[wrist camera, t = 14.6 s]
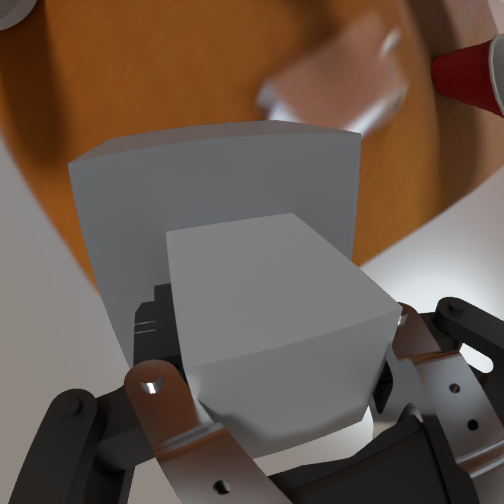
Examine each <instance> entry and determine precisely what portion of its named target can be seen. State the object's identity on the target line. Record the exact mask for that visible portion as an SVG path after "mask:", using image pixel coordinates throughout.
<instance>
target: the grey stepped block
mask: <svg viewBox="0 0 504 504" xmlns="http://www.w3.org/2000/svg"><path fill="white" fill-rule="evenodd" d="M360 153H361V134H360V133H355V132H350V131H345V130H340V129H334V128H328V127H322V126H316V125H309V124H302V123H295V122H287V121H279V120H270V121H248V122H233V123H220V124H209V125H199V126H190V127H182V128H174V129H167V130H160V131H153V132H147V133H141V134H135V135H129V136H124V137H119V138H114V139H109V140H107V141H106V142H104V143H102V144H100V145H99V146H97V147H95V148H93V149H92V150H90V151H88V152H86V153H85V154H83V155H81V156H80V157H78V158H76V159H75V160H73V161H72V162H70V163H68V169H69V174H70V180H71V185H72V190H73V195H74V200H75V204H76V209H77V213H78V218H79V222H80V226H81V230H82V234H83V237H84V241H85V245H86V249H87V252H88V256H89V259H90V262H91V266H92V269H93V272H94V275H95V279H96V282H97V285H98V288H99V291H100V294H101V297H102V300H103V302H104V305H105V308H106V311H107V314H108V316H109V319H110V322H111V324H112V327H113V329H114V332H115V334H116V337H117V339H118V342H119V344H120V347H121V349H122V351H123V354H124V356H125V358H126V361H127V363H128V365H129V367H130V369H131V368H133V354H134V334H135V333H134V325H135V312H136V311H137V309H138V308H139V306H140V304H141V303H143V302H149V301H154V286H155V285H161V284H167V283H171V287H172V295H173V303H174V310H175V318H176V324H177V331H178V338H179V344H180V350H181V356H182V362H183V367H184V371H185V374H186V378H187V381H188V384H189V387H190V391H191V394H192V397H193V399H197V400H198V401H199V403H200V404H201V405H202V407H203V408H204V410H205V411H206V412H207V414H208V415H209V416H210V418H211V419H212V420H213V421H214V422H215V423H217V422H219V423H221V424H222V425H223V426H224V427H225V428H226V429H227V430H228V431H229V432H230V434H231V435H232V436H233V437H234V439H235V440H236V441H237V442H238V443H239V445H240V446H241V447H242V448H243V449H244V451H245V452H246V453H247V454H248V455H249V457H250V458H251V459H254V458H258V457H262V456H265V455H269V454H272V453H276V452H279V451H282V450H286V449H289V448H292V447H295V446H298V445H301V444H304V443H306V442H310V441H312V440H315V439H318V438H320V437H323V436H326V435H328V434H331V433H333V432H336V431H339V430H341V429H343V428H346V427H348V426H351V425H353V424H355V423H357V422H360V421H362V419H363V416H364V414H365V412H366V410H367V407H368V405H369V404H368V400H369V397H370V395H371V392H373V391H375V388H376V386H377V383H378V381H379V378H380V375H381V373H382V370H383V367H384V365H385V362H386V357H385V353H386V350H387V346H388V343H389V342H390V341H392V340H393V339H394V336H395V332H396V329H397V326H398V323H399V319H400V316H401V313H402V309H403V307H402V306H401V305H399V304H398V303H397V302H396V301H395V300H394V299H393V298H392V297H390V295H388V294H387V293H386V292H385V291H384V290H383V289H382V288H381V287H380V286H378V285H377V284H376V283H375V282H374V281H373V280H372V279H371V278H369V277H368V276H367V275H366V274H365V273H364V272H363V271H362V270H360V269H359V268H358V267H357V266H356V265H355V264H353V263H352V262H351V260H352V252H353V244H354V235H355V225H356V214H357V203H358V189H359V174H360Z"/></svg>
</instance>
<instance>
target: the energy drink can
mask: <svg viewBox="0 0 504 504" xmlns="http://www.w3.org/2000/svg"><path fill="white" fill-rule="evenodd" d="M36 2H37V0H0V30H4V29H7V28H10V27H12V26H14V25H15V24H17V23H19V22H20V21H22V20H23V19H24V18H25V17H26V16H27V15H28V14H29V13H30V12H31V10H32V9H33V8H34V6H35V4H36Z"/></svg>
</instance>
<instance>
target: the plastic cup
mask: <svg viewBox="0 0 504 504" xmlns="http://www.w3.org/2000/svg"><path fill="white" fill-rule="evenodd" d="M431 76H432V80H433V83H434V85H435V87H436V88H437V90H438V91H439V92H440V93H441V94H442V95H444V96H446V97H449V98H452V99H456V100H459V101H461V102H463V103H467V104H470V105H473V106H476V107H479V108H481V109H484V110H487V111H490V112H493V113H494V114H496V115H499V116H501V117H502V118H504V34H498V35H495V36H494V38H493V39H491V40H490V41H487V42H485V43H482V44H479V45H475V46H471V47H467V48H463V49H459V50H455V51H452V52H450V53H446V54H442V55H439V56H438V57H435V58H434V60H433V61H432V65H431Z"/></svg>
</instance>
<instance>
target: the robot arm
mask: <svg viewBox="0 0 504 504" xmlns="http://www.w3.org/2000/svg"><path fill="white" fill-rule="evenodd" d="M397 303H398V304H399V305H401V306H402V307H403V309H402V313H401V316H400V319H399V323H398V326H397V329H396V332H395V336H394V339H393V340H392V341H390V342H389V343H388V346H387V350H386V353H385V357H386V362H385V365H384V367H383V370H382V373H381V375H380V378H379V381H378V383H377V386H376V388H375V391H373V392H371V395H370V397H369V400H368V404H369V407H370V411H371V414H372V418H373V423H374V430H373V440H372V441H371V442H370V443H368V444H367V445H366V446H365V447H364V448H362V449H361V450H360V451H359V452H357V453H356V454H355V455H353V456H352V457H350V458H346V459H341V460H335V461H330V462H323V463H316V464H309V465H302V466H299V467H296V468H293V469H290V470H287V471H284V472H280V473H277V474H274V475H270V476H266V475H265V474H264V472H262V470H261V469H260V468H259V467H258V466H257V465H256V463H255V462H254V461H253V460H252V459H251V458H250V457H249V455H248V454H247V453H246V452H245V451H244V449H243V448H242V447H241V446H240V445H239V443H238V442H237V441H236V440H235V439H234V437H233V436H232V435H231V434H230V432H229V431H228V430H227V429H226V428H225V427H224V426H223V425H222V424H221V423H219V422H217V423H215V422H214V421H213V420H212V419H211V418H210V416H209V415H208V414H207V412H206V411H205V410H204V408H203V407H202V405H201V404H200V403H199V401H198V400H197V399H193V397H192V394H191V391H190V387H189V384H188V381H187V378H186V374H185V371H184V367H183V362H182V356H181V350H180V344H179V338H178V331H177V324H176V318H175V310H174V303H173V295H172V287H171V283H167V284H161V285H155V286H154V301H149V302H143V303H141V304H140V306H139V308H138V309H137V311H136V312H135V325H134V333H135V334H134V354H133V368H131V369H130V370H129V372H128V373H127V375H126V376H125V379H124V385H123V386H122V387H120V388H119V389H117V390H115V391H113V392H110V393H108V394H105V395H103V396H100V397H98V398H95V397H94V396H93V395H92V394H91V393H90V392H88V391H86V390H83V389H70V390H67V391H64V392H62V393H61V394H59V395H58V396H57V397H56V398H55V399H54V400H53V401H52V403H51V404H50V406H49V408H48V410H47V412H46V414H45V416H44V419H43V421H42V423H41V425H40V427H39V429H38V431H37V433H36V436H35V438H34V440H33V442H32V445H31V447H30V449H29V451H28V454H27V456H26V459H25V461H24V463H23V466H22V468H21V471H20V473H19V476H18V479H17V481H16V484H15V487H14V489H13V492H12V495H11V498H10V500H9V503H8V504H127V502H128V497H129V492H130V488H131V483H132V479H133V474H134V470H135V466H136V465H138V464H141V463H143V462H145V461H148V460H150V459H152V458H154V457H156V459H157V461H158V463H159V465H160V467H161V469H162V470H163V472H164V474H165V476H166V477H167V479H168V481H169V483H170V484H171V486H172V488H173V489H174V491H175V493H176V494H177V496H178V497H179V499H180V500H181V502H182V504H504V321H502V320H500V319H499V318H497V317H495V316H493V315H491V314H489V313H487V312H485V311H483V310H481V309H479V308H478V307H476V306H474V305H472V304H469V303H468V302H466V301H464V300H462V299H459V298H455V297H445V298H442V299H441V300H439V302H438V304H437V307H436V310H435V312H430V313H420V314H418V313H417V311H416V310H415V309H414V308H412V307H411V306H409V305H407V304H404V303H400V302H397ZM463 343H465V344H466V345H468V346H470V347H472V348H473V349H475V350H477V351H479V352H480V353H482V354H484V355H485V356H487V357H489V358H490V359H491V360H492V362H493V370H492V371H491V372H489V373H483V372H481V371H479V370H477V369H476V368H474V367H472V366H471V365H469V364H468V363H466V361H465V359H464V357H463V356H462V354H461V353H460V352H459V351H460V349H461V346H462V344H463Z"/></svg>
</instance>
